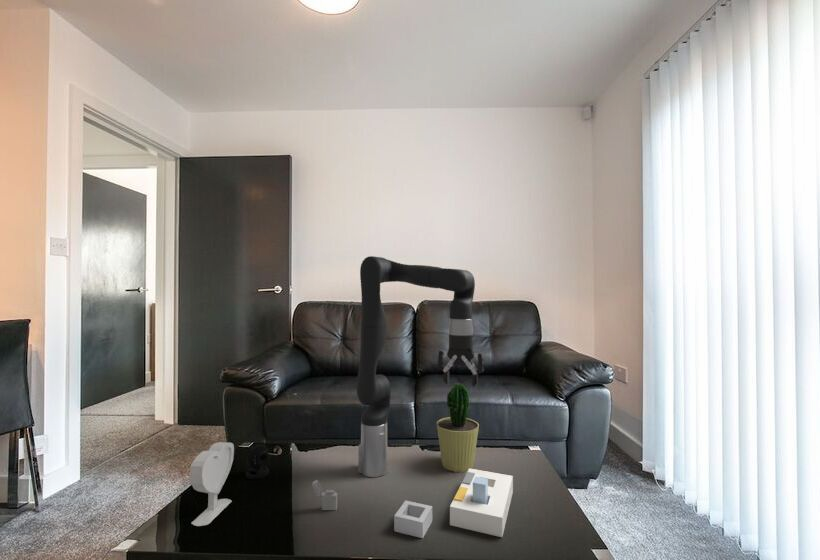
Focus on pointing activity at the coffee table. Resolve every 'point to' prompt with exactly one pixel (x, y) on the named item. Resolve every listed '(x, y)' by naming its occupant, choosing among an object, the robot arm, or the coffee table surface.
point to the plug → (480, 490)
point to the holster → (413, 519)
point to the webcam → (257, 462)
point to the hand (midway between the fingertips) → (460, 384)
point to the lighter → (326, 497)
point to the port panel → (479, 514)
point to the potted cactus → (457, 432)
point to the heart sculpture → (212, 478)
